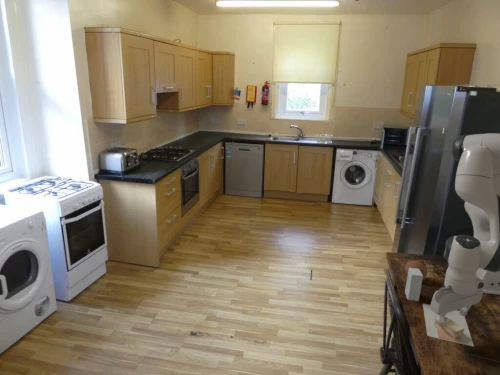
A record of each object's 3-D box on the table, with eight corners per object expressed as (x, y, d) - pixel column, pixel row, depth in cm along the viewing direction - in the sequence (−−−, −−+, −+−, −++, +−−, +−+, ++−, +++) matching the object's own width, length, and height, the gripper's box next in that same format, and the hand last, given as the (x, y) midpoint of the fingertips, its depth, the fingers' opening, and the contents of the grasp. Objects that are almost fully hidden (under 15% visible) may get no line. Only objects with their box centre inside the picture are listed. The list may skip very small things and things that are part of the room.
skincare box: (418, 302, 141) (423, 276, 138) (407, 301, 142) (411, 274, 139) (415, 294, 147) (419, 268, 143) (404, 292, 148) (408, 267, 144)
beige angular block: (462, 335, 122) (464, 328, 121) (454, 339, 120) (455, 331, 119) (441, 321, 129) (443, 314, 128) (433, 325, 127) (434, 318, 126)
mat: (462, 313, 135) (463, 311, 135) (473, 348, 117) (474, 346, 117) (422, 304, 140) (422, 303, 140) (427, 337, 122) (427, 335, 122)
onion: (417, 282, 162) (427, 262, 161) (423, 288, 152) (434, 267, 151) (397, 272, 163) (407, 253, 162) (402, 277, 154) (413, 257, 153)
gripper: (445, 294, 112) (438, 331, 116) (489, 281, 119) (481, 316, 123) (428, 284, 118) (423, 319, 122) (472, 272, 125) (465, 306, 129)
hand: (452, 318), depth 123 cm, fingers open, 8 cm apart
